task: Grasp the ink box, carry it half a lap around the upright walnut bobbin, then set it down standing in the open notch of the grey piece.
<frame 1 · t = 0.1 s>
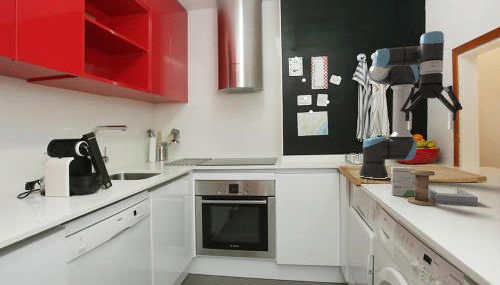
hand: (429, 129, 107), 28 cm above the counter, fingers open, 13 cm apart
ink box: (402, 195, 118), on the counter
grey piece: (449, 199, 110), on the counter
bobbin: (421, 202, 106), on the counter
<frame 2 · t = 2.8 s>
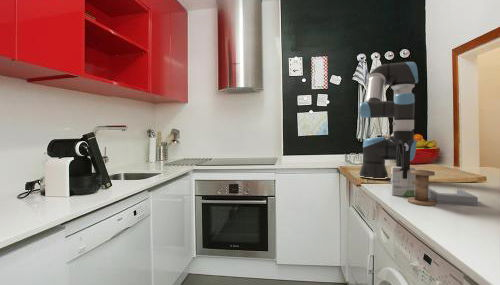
hand: (402, 184, 118), 4 cm above the counter, fingers closed on ink box, 5 cm apart
ink box: (402, 195, 118), on the counter, touching gripper
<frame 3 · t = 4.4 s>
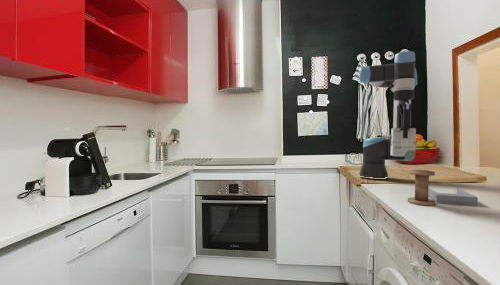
hand: (402, 145, 116), 21 cm above the counter, fingers closed on ink box, 5 cm apart
ink box: (402, 156, 117), point 16 cm above the counter, touching gripper
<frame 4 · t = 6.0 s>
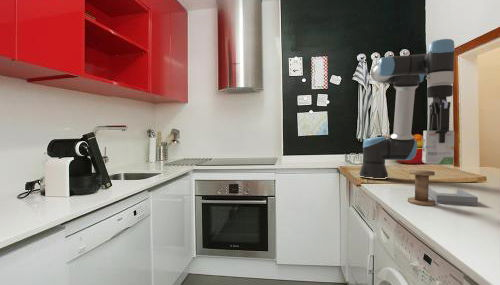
hand: (437, 151, 99), 20 cm above the counter, fingers closed on ink box, 5 cm apart
ink box: (437, 163, 99), point 16 cm above the counter, touching gripper
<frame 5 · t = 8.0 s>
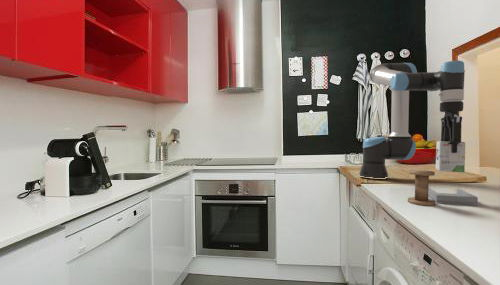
hand: (449, 160, 110), 16 cm above the counter, fingers closed on ink box, 5 cm apart
ink box: (449, 171, 110), point 11 cm above the counter, touching gripper
when the fingers open (7 cm above the counter, at t = 9.5 s): ink box drops 1 cm, resting on grey piece.
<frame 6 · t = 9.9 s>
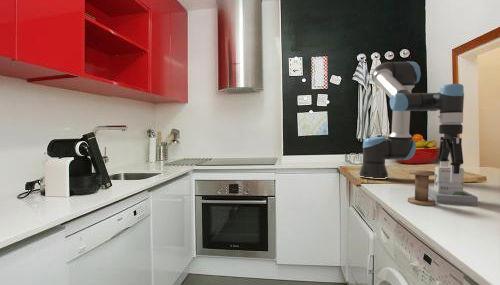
hand: (449, 179, 111), 8 cm above the counter, fingers open, 10 cm apart
ink box: (448, 196, 111), point 1 cm above the counter, touching grey piece
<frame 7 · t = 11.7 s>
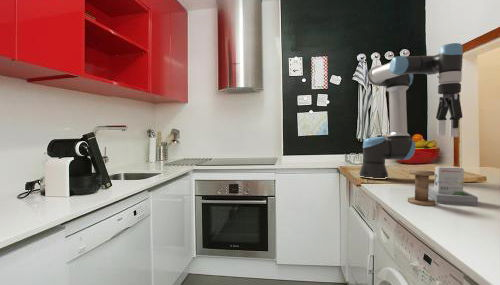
hand: (447, 136, 114), 25 cm above the counter, fingers open, 13 cm apart
nothing on the counter moved.
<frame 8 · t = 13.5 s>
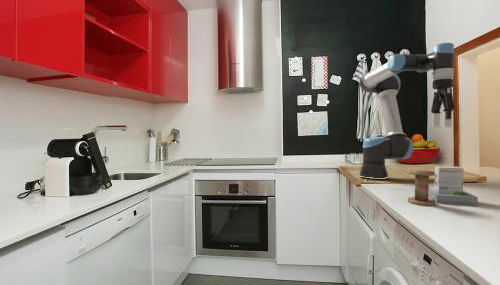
hand: (441, 127, 124), 29 cm above the counter, fingers open, 13 cm apart
nothing on the counter moved.
at the end: ink box inside the target area on the grey piece (0.4 cm from its centre), point 0.8 cm above the grey piece's base; ink box tilted 0°; the gripper is holding nothing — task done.
